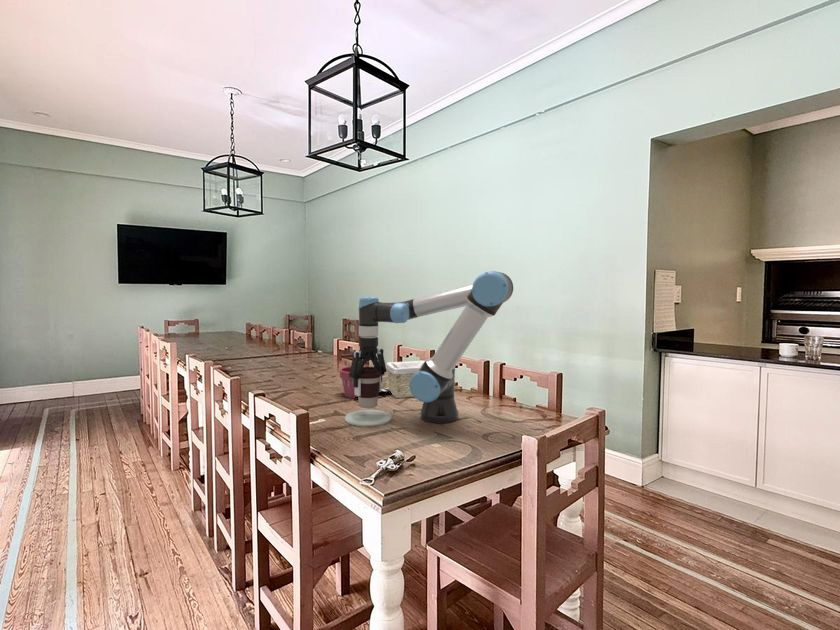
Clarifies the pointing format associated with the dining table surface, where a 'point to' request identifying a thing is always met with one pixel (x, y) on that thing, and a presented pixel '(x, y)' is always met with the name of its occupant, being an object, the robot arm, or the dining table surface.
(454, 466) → the dining table surface
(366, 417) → the dish
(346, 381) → the plant pot
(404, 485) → the dining table surface
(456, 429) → the dining table surface
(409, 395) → the storage basket
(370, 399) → the coffee cup
